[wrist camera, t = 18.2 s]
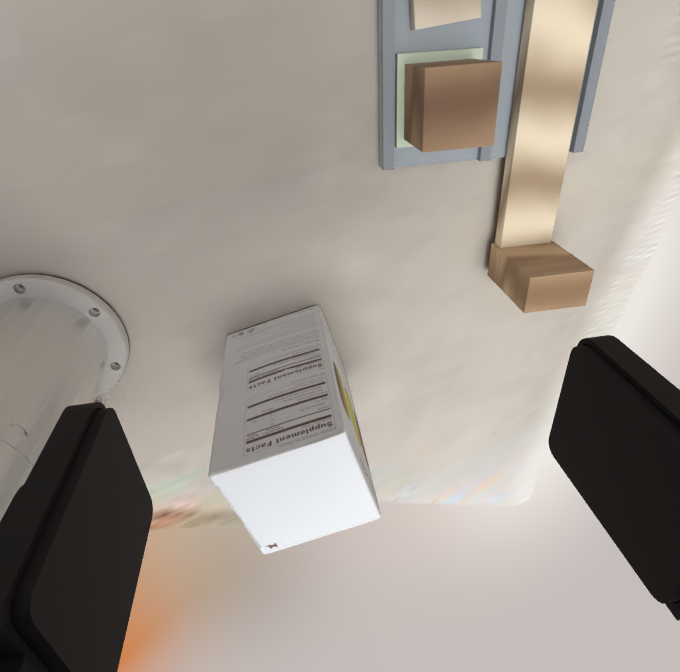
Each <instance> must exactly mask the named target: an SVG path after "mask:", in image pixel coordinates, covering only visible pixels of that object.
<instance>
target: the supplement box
mask: <svg viewBox="0 0 680 672" xmlns="http://www.w3.org/2000/svg"><path fill="white" fill-rule="evenodd" d="M208 476H209V478H210V480H211V481H212V482H213V483H214V485H215V486H216V487H217V488H218V490H219V491H220V492H221V494H222V495H223V496H224V498H225V499H226V501H227V502H228V503H229V504H230V506H231V507H232V508H233V510H234V511H235V513H236V514H237V515H238V517H239V518H240V520H241V521H242V522H243V524H244V525H245V527H246V528H247V530H248V531H249V533H250V534H251V536H252V537H253V539H254V541H255V542H256V544H257V545H258V547H259V549H260V550H261V552H262V553H263V554H268V553H272V552H275V551H278V550H281V549H285V548H288V547H291V546H294V545H297V544H300V543H303V542H307V541H310V540H313V539H316V538H319V537H322V536H325V535H329V534H332V533H335V532H338V531H342V530H345V529H348V528H351V527H354V526H358V525H361V524H364V523H367V522H370V521H373V520H376V519H378V518H380V517H381V514H380V510H379V506H378V501H377V497H376V493H375V489H374V485H373V481H372V477H371V473H370V469H369V465H368V461H367V457H366V453H365V449H364V445H363V441H362V437H361V433H360V429H359V425H358V421H357V416H356V412H355V408H354V404H353V400H352V396H351V392H350V388H349V384H348V380H347V377H346V374H345V371H344V369H343V366H342V363H341V360H340V358H339V355H338V352H337V349H336V347H335V344H334V341H333V339H332V336H331V333H330V331H329V328H328V326H327V323H326V321H325V318H324V315H323V313H322V310H321V308H320V306H319V305H316V306H312V307H309V308H306V309H303V310H300V311H298V312H295V313H292V314H289V315H286V316H283V317H280V318H277V319H274V320H271V321H268V322H265V323H262V324H259V325H256V326H253V327H250V328H248V329H245V330H242V331H239V332H236V333H233V334H230V335H228V336H227V338H226V346H225V353H224V361H223V368H222V376H221V384H220V395H219V402H218V409H217V415H216V422H215V430H214V437H213V445H212V452H211V460H210V467H209V474H208Z"/></svg>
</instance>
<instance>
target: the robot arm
mask: <svg viewBox="0 0 680 672" xmlns="http://www.w3.org/2000/svg"><path fill="white" fill-rule="evenodd" d="M96 308H97V309H96ZM128 357H129V342H128V337H127V334H126V331H125V328H124V326H123V324H122V323H121V321H120V319H119V318H118V316H117V315H116V314H115V312H114V311H113V310H112V309H111V308H110V307H109V306H108V305H107V304H106V303H105V302H104V301H103V300H101V299H100V298H99V297H98V296H96V295H95V294H93V293H92V292H90V291H88V290H87V289H85V288H83V287H82V286H79V285H77V284H74V283H72V282H69V281H67V280H64V279H60V278H56V277H52V276H46V275H36V274H27V275H15V276H11V277H7V278H3V279H0V672H117V670H118V665H119V660H120V657H121V652H122V648H123V643H124V639H125V634H126V630H127V625H128V621H129V617H130V612H131V608H132V604H133V599H134V594H135V590H136V586H137V581H138V576H139V573H140V568H141V564H142V559H143V555H144V551H145V546H146V542H147V537H148V533H149V529H150V524H151V520H152V513H153V507H152V500H151V497H150V494H149V492H148V490H147V487H146V485H145V482H144V480H143V477H142V475H141V473H140V470H139V468H138V465H137V463H136V460H135V458H134V456H133V453H132V451H131V448H130V446H129V443H128V441H127V438H126V436H125V434H124V431H123V429H122V426H121V424H120V421H119V419H118V417H117V414H116V412H115V410H114V409H113V408H105V406H104V405H103V404H102V403H101V402H94V400H95V398H96V397H98V396H100V395H102V394H103V393H105V392H106V391H108V390H109V389H111V388H112V387H113V386H114V385H115V384H116V383H117V382H118V380H119V379H120V377H121V375H122V374H123V372H124V370H125V367H126V364H127V362H128ZM549 447H550V450H551V453H552V454H553V456H554V458H555V459H556V461H557V462H558V464H559V465H560V466H561V468H562V469H563V471H564V472H565V473H566V475H567V476H568V478H569V479H570V480H571V482H572V483H573V485H574V486H575V487H576V489H577V490H578V492H579V493H580V495H581V496H582V497H583V499H584V500H585V502H586V503H587V504H588V506H589V507H590V509H591V510H592V511H593V513H594V514H595V516H596V517H597V519H598V520H599V521H600V523H601V524H602V526H603V527H604V528H605V530H606V531H607V532H608V534H609V535H610V537H611V538H612V540H613V541H614V543H615V544H616V545H617V547H618V548H619V550H620V551H621V552H622V554H623V555H624V557H625V558H626V559H627V561H628V562H629V564H630V565H631V567H632V568H633V569H634V571H635V572H636V573H637V575H638V576H639V578H640V579H641V581H642V582H643V584H644V585H645V586H646V588H647V589H648V591H649V592H650V593H651V595H652V596H653V597H654V598H655V599H656V600H657V601H659V602H661V603H665V604H666V605H667V607H668V608H669V610H670V611H671V613H672V614H673V615H674V617H675V618H676V619H677V620H680V390H679V389H678V388H676V387H675V386H674V385H673V384H672V383H670V382H669V381H668V380H667V379H665V378H664V377H663V376H662V375H661V374H660V373H658V372H657V371H656V370H655V369H653V368H652V367H651V366H650V365H649V364H647V363H646V362H645V361H644V360H643V359H641V358H640V357H639V356H638V355H637V354H635V353H634V352H633V351H632V350H630V349H629V348H628V347H627V346H626V345H625V344H623V343H622V342H621V341H620V340H619V339H617V338H615V337H614V336H610V335H607V336H599V337H592V338H585V339H582V340H581V341H580V342H579V343H578V345H577V346H576V347H574V348H573V349H572V351H571V353H570V357H569V361H568V365H567V369H566V373H565V377H564V381H563V385H562V389H561V393H560V397H559V401H558V404H557V408H556V412H555V416H554V420H553V424H552V428H551V432H550V436H549Z"/></svg>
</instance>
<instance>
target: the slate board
mask: <svg viewBox="0 0 680 672" xmlns="http://www.w3.org/2000/svg"><path fill="white" fill-rule="evenodd" d="M614 4H615V0H598V4H597V9H596V14H595V19H594V24H593V29H592V35H591V40H590V45H589V50H588V55H587V60H586V65H585V70H584V75H583V80H582V85H581V90H580V95H579V101H578V106H577V111H576V116H575V121H574V126H573V131H572V136H571V141H570V146H569V151H570V152H573V153H575V152H583V149H584V145H585V140H586V135H587V131H588V126H589V121H590V116H591V112H592V107H593V102H594V98H595V93H596V88H597V84H598V79H599V74H600V69H601V65H602V60H603V55H604V51H605V46H606V41H607V36H608V32H609V27H610V22H611V18H612V13H613V8H614ZM525 6H526V0H481V18H475V19H470V20H465V21H460V22H455V23H450V24H444V25H439V26H434V27H429V28H424V29H419V30H410V15H409V0H378V38H379V145H380V167H381V168H382V169H383V170H391V169H394V167H402V166H413V165H424V164H435V163H446V162H456V161H467V160H479V161H488V160H490V158H500V157H506V153H507V145H508V137H509V130H510V122H511V114H512V106H513V99H514V91H515V83H516V76H517V68H518V60H519V52H520V45H521V37H522V29H523V21H524V14H525ZM470 48H483V57H482V60H491V61H502V71H501V80H500V90H499V99H498V108H497V118H496V127H495V137H494V146H484V147H474V148H464V149H454V150H444V151H434V152H424V153H422V152H421V151H420V150H418V149H417V148H415V147H404V148H396V147H395V54H398V53H413V52H427V51H441V50H455V49H470Z"/></svg>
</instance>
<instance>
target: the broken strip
mask: <svg viewBox="0 0 680 672" xmlns="http://www.w3.org/2000/svg"><path fill="white" fill-rule="evenodd" d="M409 15H410V30H419V29H424V28H429V27H434V26H439V25H444V24H450V23H455V22H460V21H465V20H470V19H475V18H481V0H409Z"/></svg>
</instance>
